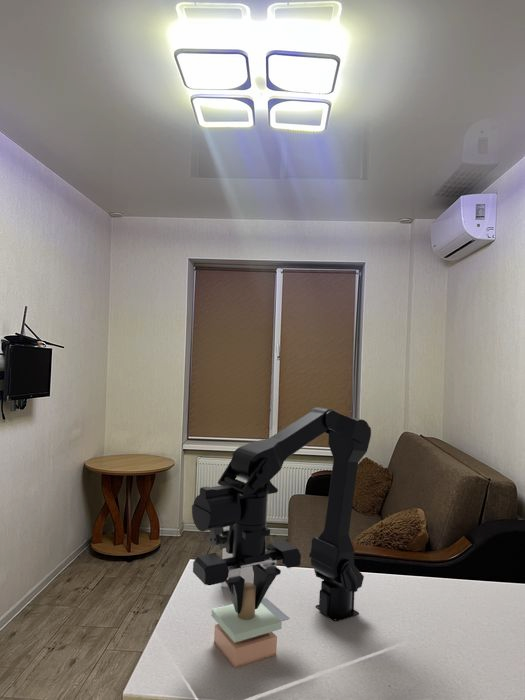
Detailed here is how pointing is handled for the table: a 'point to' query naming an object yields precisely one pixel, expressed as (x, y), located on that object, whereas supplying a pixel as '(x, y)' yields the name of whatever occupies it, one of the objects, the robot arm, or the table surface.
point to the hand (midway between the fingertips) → (246, 610)
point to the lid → (246, 617)
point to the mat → (274, 610)
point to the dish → (245, 647)
